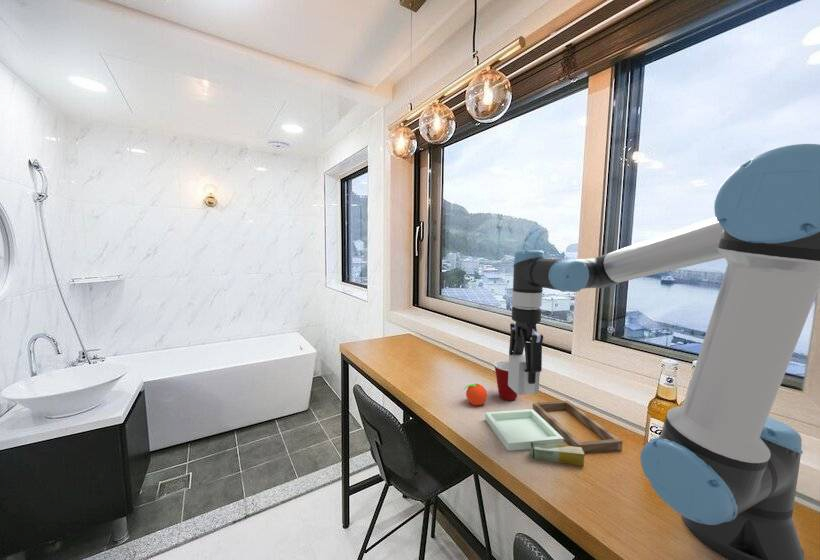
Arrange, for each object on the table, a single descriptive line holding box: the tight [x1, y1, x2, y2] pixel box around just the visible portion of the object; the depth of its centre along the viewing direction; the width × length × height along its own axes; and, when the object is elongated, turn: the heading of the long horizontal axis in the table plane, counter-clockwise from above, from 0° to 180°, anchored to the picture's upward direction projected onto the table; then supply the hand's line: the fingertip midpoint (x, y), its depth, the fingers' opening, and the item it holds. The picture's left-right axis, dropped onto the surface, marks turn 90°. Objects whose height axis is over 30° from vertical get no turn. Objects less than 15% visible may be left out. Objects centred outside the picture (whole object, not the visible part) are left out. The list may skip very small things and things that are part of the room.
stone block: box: [508, 353, 541, 396], centre depth 87 cm, size 6×6×9 cm
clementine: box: [462, 383, 488, 406], centre depth 106 cm, size 8×7×7 cm
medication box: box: [529, 442, 586, 466], centre depth 77 cm, size 12×3×4 cm, turn 79°
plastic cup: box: [493, 360, 518, 402], centre depth 111 cm, size 11×11×12 cm
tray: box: [484, 408, 565, 452], centre depth 89 cm, size 15×15×3 cm
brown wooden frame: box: [532, 400, 623, 454], centre depth 92 cm, size 22×12×2 cm, turn 8°
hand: (522, 388), depth 88 cm, fingers closed on stone block, 6 cm apart
